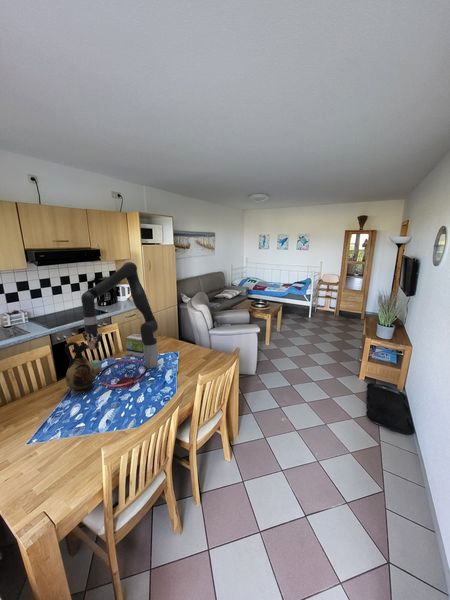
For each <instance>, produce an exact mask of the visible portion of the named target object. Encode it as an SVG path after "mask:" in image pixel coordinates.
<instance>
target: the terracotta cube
mask: <svg viewBox="0 0 450 600" xmlns="http://www.w3.org/2000/svg"><path fill="white" fill-rule="evenodd" d="M96 341H97V340H96ZM98 343H99V342H98ZM99 344H100V343H99ZM87 345H88V346H89V347H90V348H88V349H87V350H92V351H94V350H97V348H95V342H94V340H93V339H91V341H90V342H87Z"/></svg>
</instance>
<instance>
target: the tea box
mask: <svg viewBox="0 0 450 600" xmlns="http://www.w3.org/2000/svg"><path fill="white" fill-rule="evenodd" d="M125 346H126V355H128V356H134V357H138V358H144V357H143V356H144V348H143V341H142V338H141V334H140V333H139V334H137V333H131V335H128V336H127V337H125Z"/></svg>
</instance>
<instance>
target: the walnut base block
mask: <svg viewBox="0 0 450 600" xmlns="http://www.w3.org/2000/svg"><path fill="white" fill-rule="evenodd" d="M95 372H96V375H99V374H98V373H100V372H102V366H101V367H100V368H97V369H95ZM102 373H103V372H102ZM100 374H101V373H100Z"/></svg>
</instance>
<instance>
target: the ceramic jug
mask: <svg viewBox="0 0 450 600" xmlns="http://www.w3.org/2000/svg"><path fill="white" fill-rule="evenodd" d="M72 346H74V348H72V351H71V352H72V353H73V354H75V355H74V358H73V356H72V354H71V353H70V350H69V348H70V347H72ZM88 348H90V347H89V346H88V343H85V342H82V343H81V344H78V342H76V341H69V342H66V345H65V347H64V352H65V355H67V357H68V359H69V363H68V368H67V371H66V374H65V383H66V385H67V386H68V387H69V388H70V390H71V389H72V392H74V393H77V394H80V393H82V394H83V393H87V392H88V391H89V390H91V389H92V385H93V383H94V382H95V381H96V377H97V374H96V372H95V369H94V367H93V365H92V364H91V363H90V362H91V361H89V360H88V359H87V358H86V357H85V356H84V355H83V352H84V351H86V350H89V349H88Z"/></svg>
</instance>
